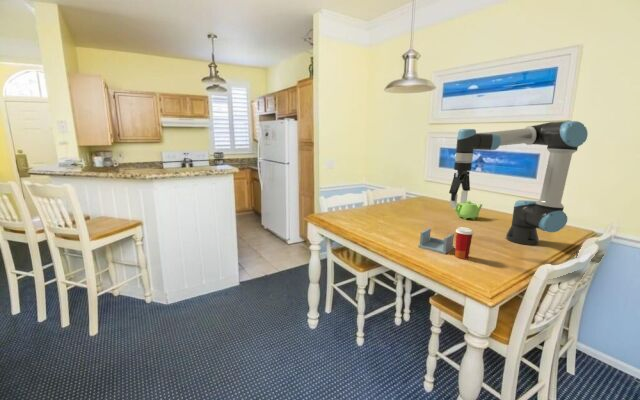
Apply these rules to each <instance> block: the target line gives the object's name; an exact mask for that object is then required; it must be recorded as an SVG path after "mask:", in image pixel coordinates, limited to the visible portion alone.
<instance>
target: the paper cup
mask: <svg viewBox="0 0 640 400" xmlns="http://www.w3.org/2000/svg"><path fill="white" fill-rule="evenodd" d="M473 235H474V232H473V229H472V228H468V227H465V226H464V227H462V226H461V227H460V226H459V227H457V228H456V230H455V250H454V253H455V254H454V255H455V257H456V259H459V260H467V259H468V258H469V256H470V255H469V254H470V249H471V244H472V239H473Z"/></svg>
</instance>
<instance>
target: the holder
mask: <svg viewBox="0 0 640 400" xmlns="http://www.w3.org/2000/svg"><path fill="white" fill-rule="evenodd" d="M431 230H432V228H429V227H428V228H426V229H425V230H423V231H421V232H420V237H419V244H418V246H417V248H421V249H422V250H423V249H424V250H426V251H427V250H428V251H430V252H431V251H432V252H435V253H438V254H443V255H446V254H448V253H449V252H450V251H452V250H454V247H455V246H454V237H455V236H454V235H455V233H451V232H450V234H448V235H446V236H445V237H443V238H444V239H442V238H441V239H440V238H436V237H432V236H431V232H432V231H431Z"/></svg>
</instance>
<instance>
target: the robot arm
mask: <svg viewBox="0 0 640 400" xmlns="http://www.w3.org/2000/svg"><path fill="white" fill-rule="evenodd" d="M588 134H589V132H588V129H587V127H586V126H585V124H584V123H582V122H580V121H577V120H576V121H575V120H567V121H566V120H565V121H551V122H545V123H541V124H535V125H528V126H526V127H524V128H517V129H508V130H500V131H499V130H498V131H489V132H479V133H477V130H476V129H474V128H461V129H459V130H458V133H457V138H456V147H455V148H456V149H455V154H454V158H455V159H454V161H455V162H454V165H453V169H454V170H455V171H457V172H454V174H453V178H452V180H451V181H452V182H451V185H450V188H449V191H448V193H449V194H450V202H449V208H452V209H454V208H456V205H457V204H458V191H459V189H460V187H461V188H462V190H461V193H460V200H459V201H460V202H459V204H460V203H464V204H466V202H467V201H468V192H469V191H471V185H470V184H471V182H470V181H471V180H470V172H471V171H472V167H473V166H472V165H473V164H472V162H473V157H474V151H476V150H477V151H495V150H497V149H499V148H500V147H501V146H502V147H503V146H511V145H522V144H525V145H527V146H530V145H538V146H547V147H546V150H547V151H548V152H549V155H548V159H547V160H548V161H547V164H546V168H545V169H546V170H545V174H544V179H543V182H542V183H543V184H542V189H541V191H540V192H541V193H540V197H539V200H526V199H525V200H524V199H522V200H516V201H515V203H514V206H513V212H512V218H511V220H512V221H511V226H510V227H509V229H508V231H507V233H506V236H505V239H506V240H508V241H509V242H511V243H514V244H520V245H527V246H534V245H535V246H536V245H538V244H539V236H538V235H539V234H538V231H537V230H541V231H543V232H546V233H556V232H559V231H561V230H562V229H564V228H565V226H566V224H567V223H568V216H567V213H565V212H564V208H565V206H564V204H563V203H562V200H563V196H564V191H565V188H566V187H565V186H566V182H567V179H568V178H567V177H568V174H569V169H570V164H571V161H572V158H573V157H572V156H573V154H574V153H576V152H577V151H578V148H579V147H581V146H582V145H583V144H584V143H586V141H587V140H588Z"/></svg>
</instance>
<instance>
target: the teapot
mask: <svg viewBox="0 0 640 400" xmlns="http://www.w3.org/2000/svg"><path fill="white" fill-rule="evenodd" d="M482 207H483V204H482V203H479V204H478V205H477V204H476V203H473V202H472V201H470V200H467V202H466V204H464V203H460V202H459V203H457V205H456V208H453V211H454V212H456V215H457V216H458V218H463V220H465V221H466V220H467V219H470V220H473V221H475V220H476V218H478V217H479V215H480V211H481V210H482Z"/></svg>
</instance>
